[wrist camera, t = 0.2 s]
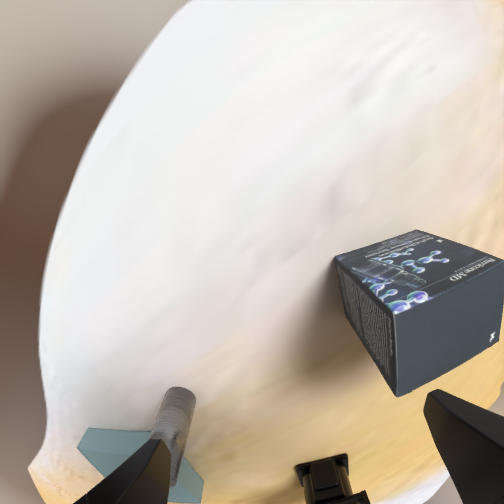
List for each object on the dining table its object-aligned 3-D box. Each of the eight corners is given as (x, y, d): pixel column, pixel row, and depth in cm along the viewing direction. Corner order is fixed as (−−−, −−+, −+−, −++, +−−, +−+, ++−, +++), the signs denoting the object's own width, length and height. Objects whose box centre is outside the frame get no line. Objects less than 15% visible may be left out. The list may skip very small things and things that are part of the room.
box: (416, 227, 20) (508, 258, 10) (422, 288, 21) (499, 344, 11) (330, 254, 21) (393, 314, 10) (344, 318, 22) (396, 402, 12)
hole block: (203, 481, 28) (200, 503, 24) (131, 477, 29) (125, 495, 25) (166, 431, 25) (157, 457, 21) (88, 427, 26) (76, 447, 22)
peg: (200, 407, 24) (182, 488, 14) (173, 409, 24) (148, 486, 15) (189, 385, 24) (165, 469, 14) (161, 388, 24) (129, 466, 14)
